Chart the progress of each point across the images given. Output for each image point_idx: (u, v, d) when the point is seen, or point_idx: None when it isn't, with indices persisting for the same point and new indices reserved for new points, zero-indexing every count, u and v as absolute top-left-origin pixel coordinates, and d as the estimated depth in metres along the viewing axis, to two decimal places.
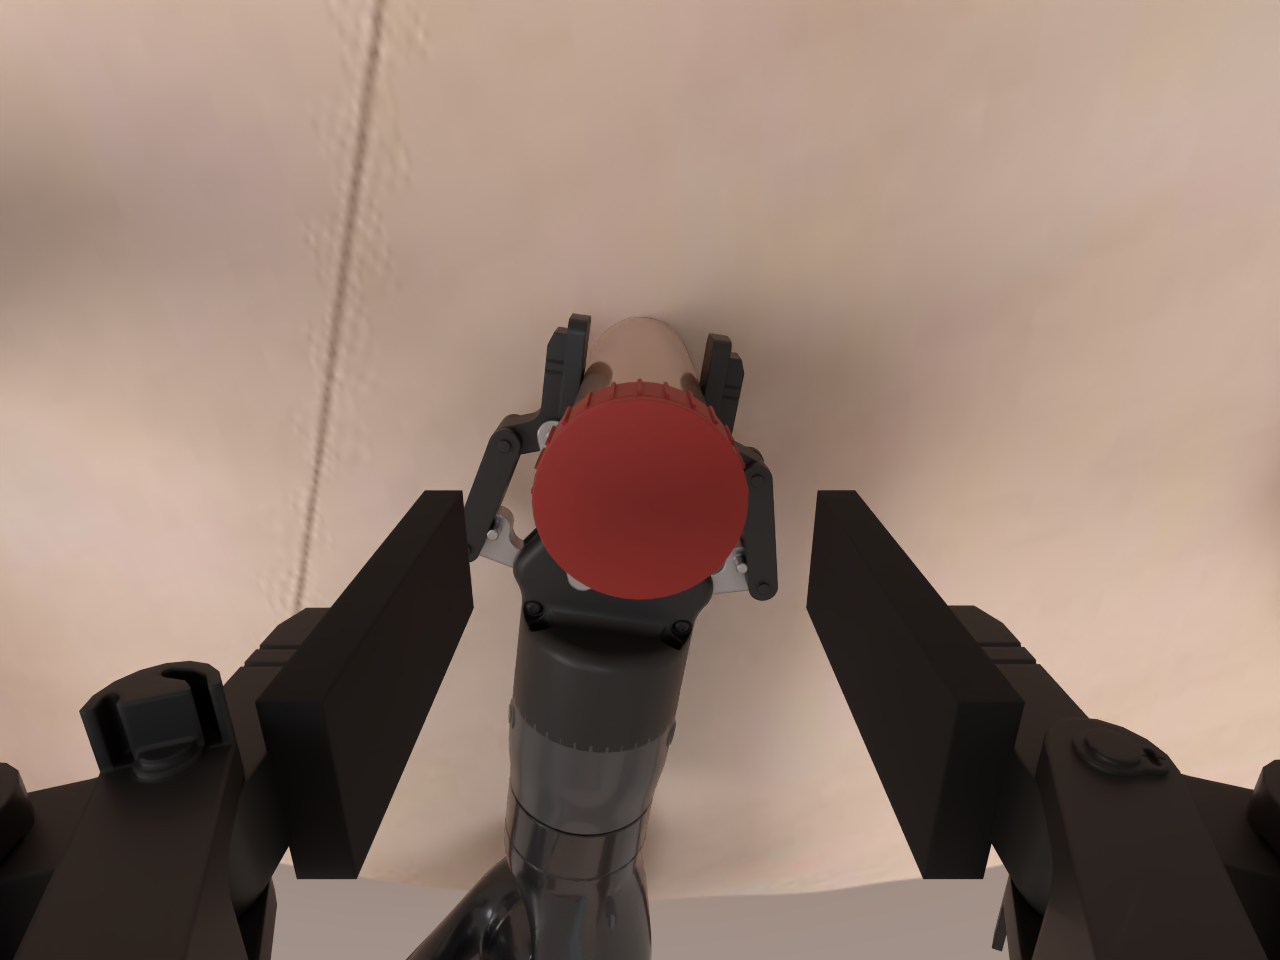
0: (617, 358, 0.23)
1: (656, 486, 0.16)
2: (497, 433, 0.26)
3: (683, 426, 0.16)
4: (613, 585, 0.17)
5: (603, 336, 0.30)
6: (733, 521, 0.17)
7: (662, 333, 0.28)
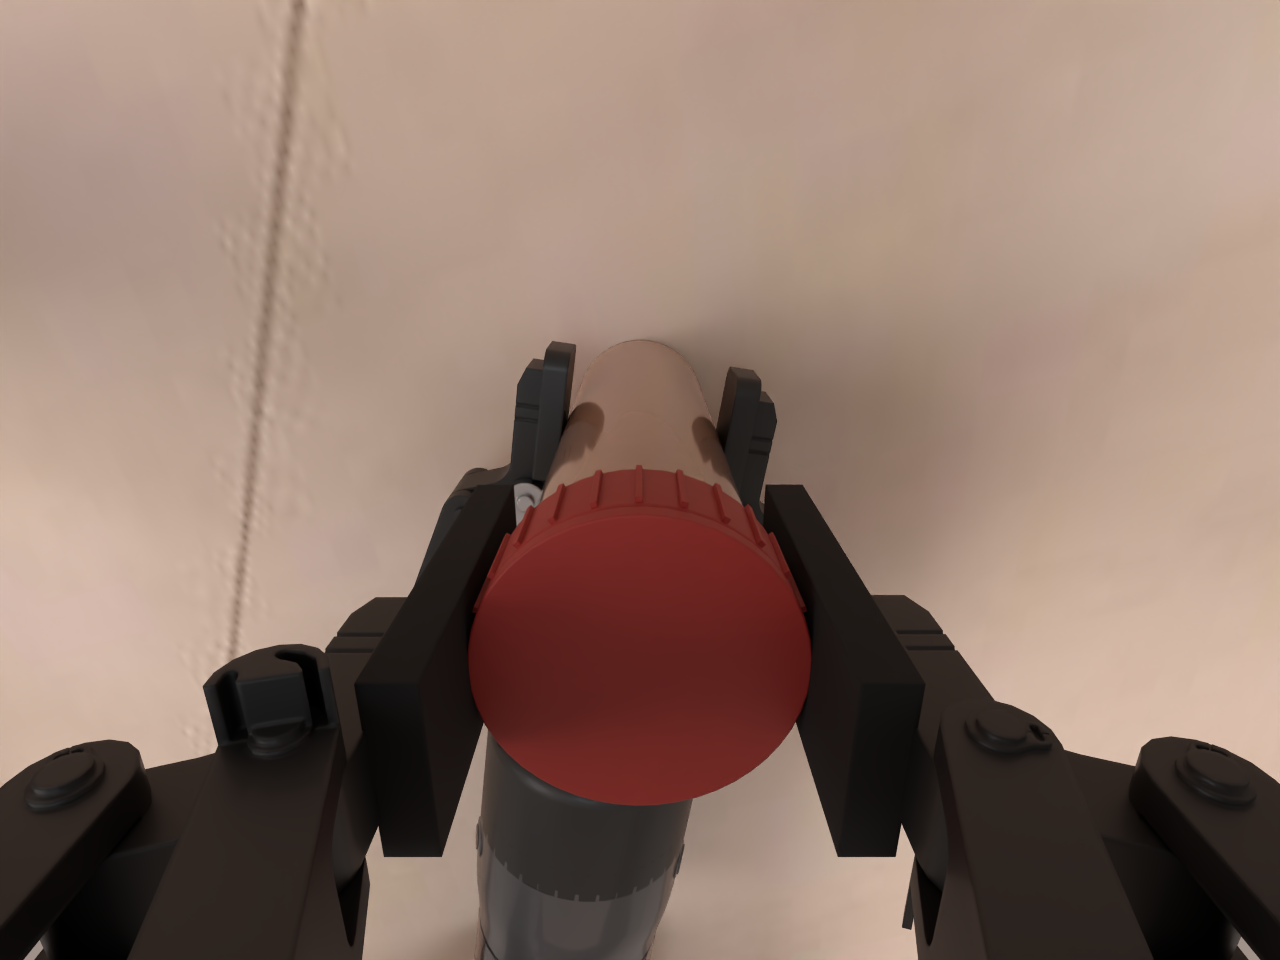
0: (608, 409, 0.16)
1: (665, 646, 0.10)
2: (452, 499, 0.20)
3: (710, 556, 0.10)
4: (598, 787, 0.11)
5: (594, 365, 0.24)
6: (787, 696, 0.11)
7: (668, 364, 0.22)
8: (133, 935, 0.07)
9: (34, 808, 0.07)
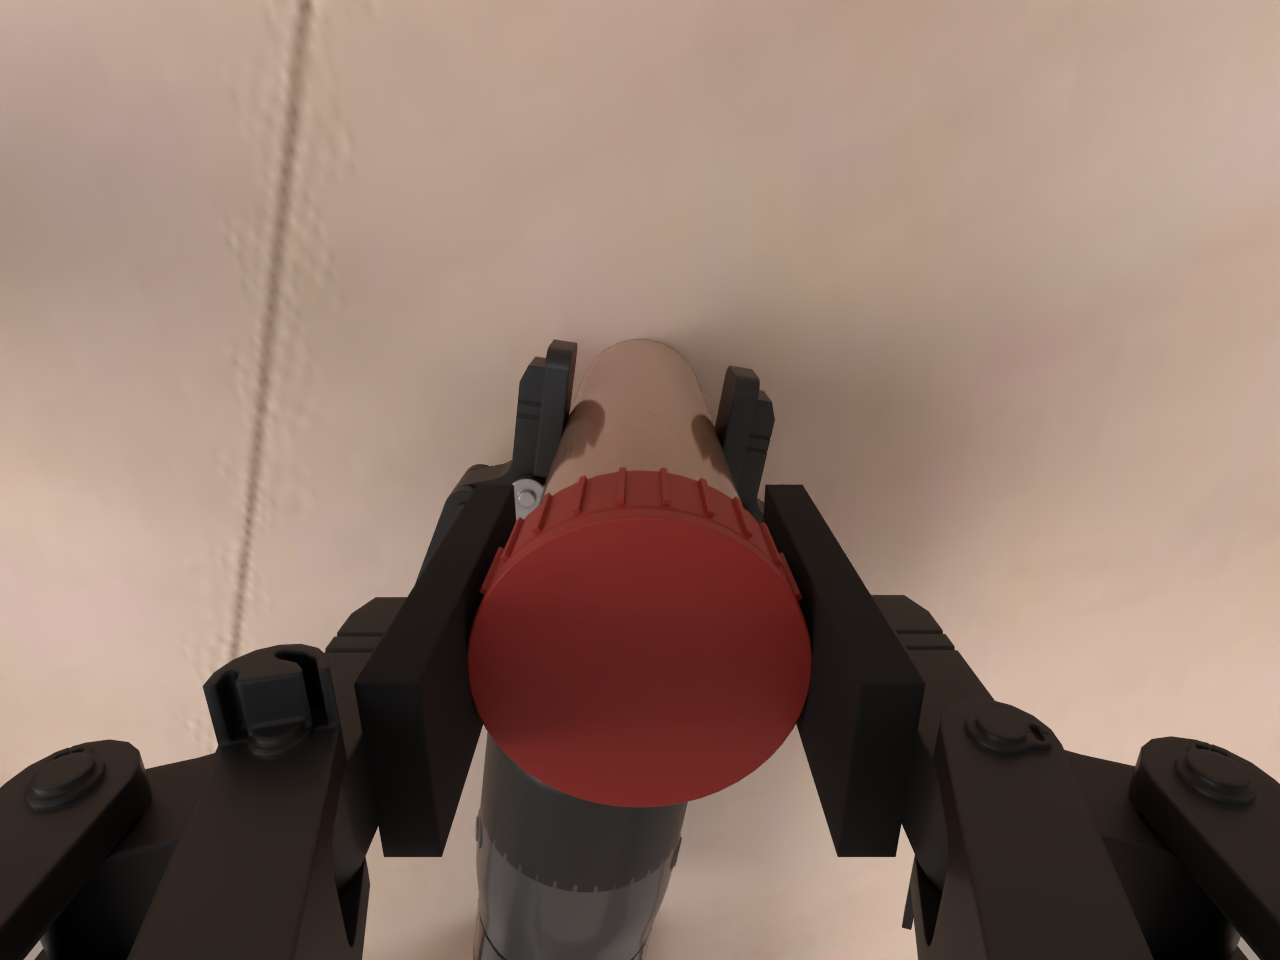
0: (609, 406, 0.17)
1: (600, 662, 0.10)
2: (455, 494, 0.20)
3: (492, 654, 0.10)
4: (791, 677, 0.10)
5: (594, 363, 0.25)
6: (622, 536, 0.10)
7: (668, 363, 0.22)
8: (133, 935, 0.07)
9: (35, 806, 0.07)
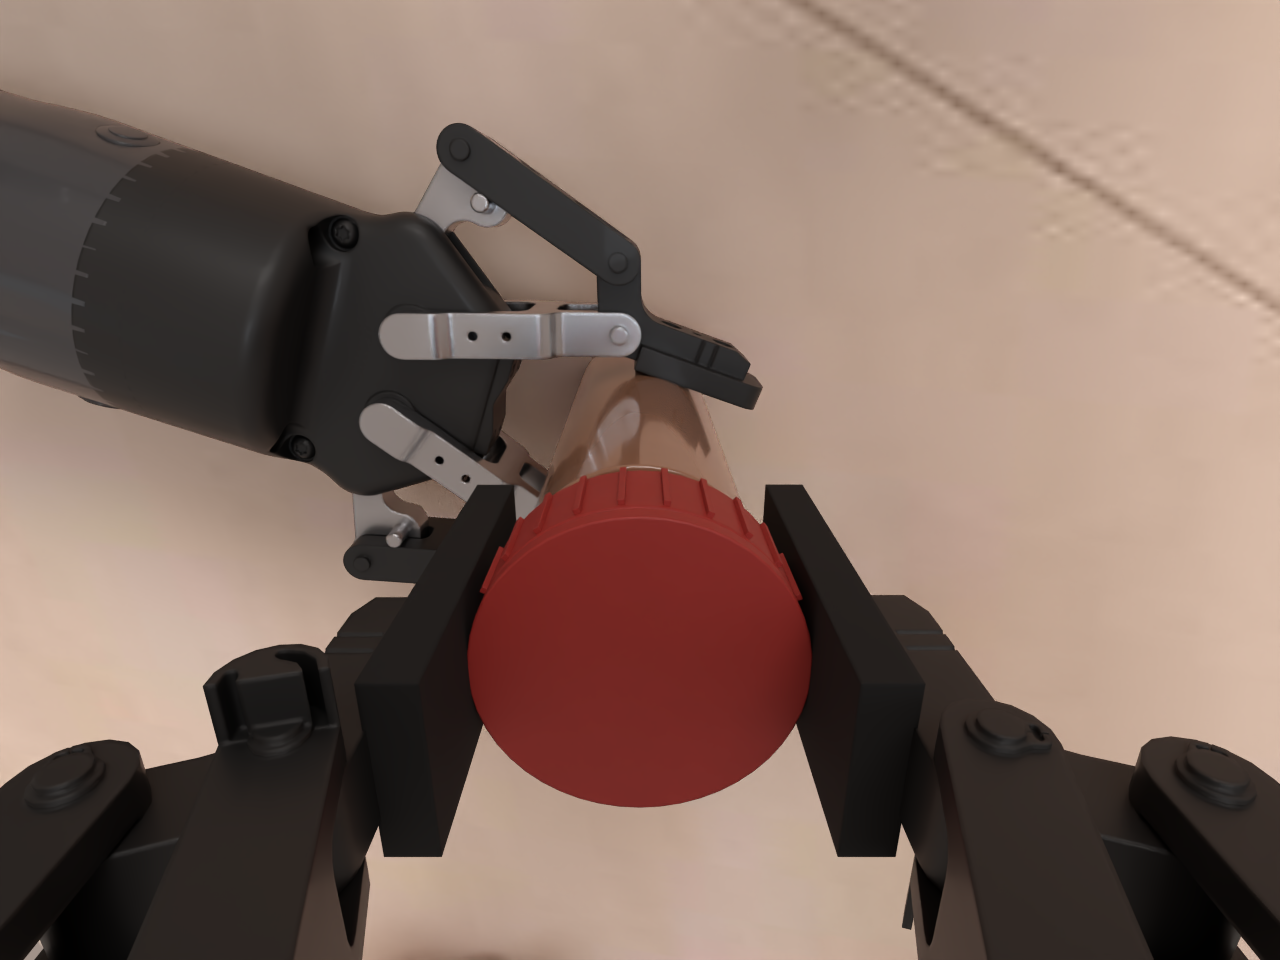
0: None
1: (600, 662, 0.10)
2: (638, 257, 0.18)
3: (492, 653, 0.10)
4: (791, 677, 0.10)
5: None
6: (623, 536, 0.10)
7: None
8: (133, 935, 0.07)
9: (34, 808, 0.07)
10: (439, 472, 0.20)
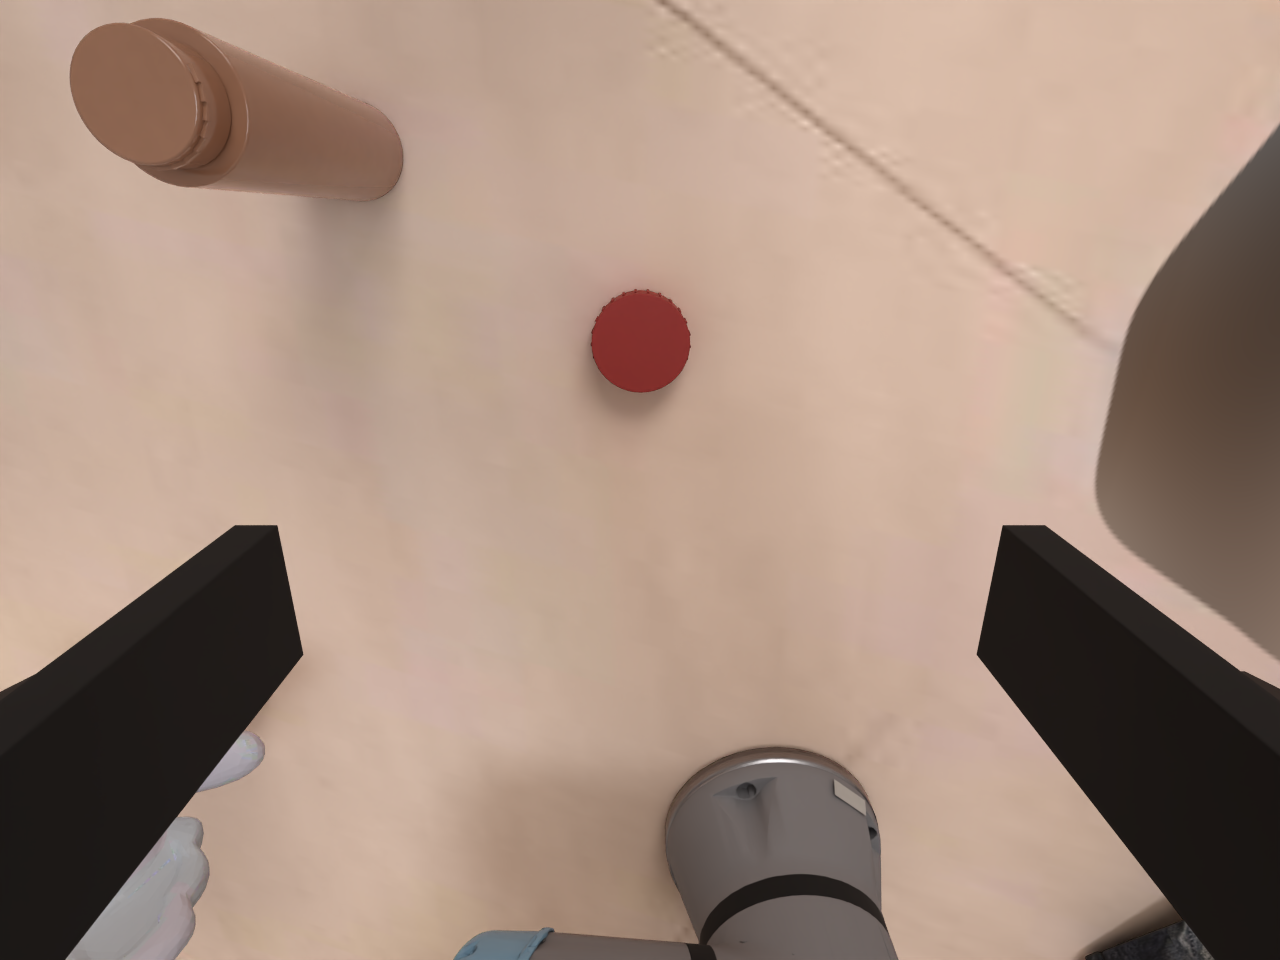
0: (319, 125, 0.26)
1: (629, 340, 0.36)
2: None
3: (599, 337, 0.36)
4: (683, 344, 0.36)
5: (385, 124, 0.33)
6: (636, 299, 0.36)
7: (368, 179, 0.32)
8: None
9: None
10: None
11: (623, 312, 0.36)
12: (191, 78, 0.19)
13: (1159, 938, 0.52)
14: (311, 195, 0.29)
